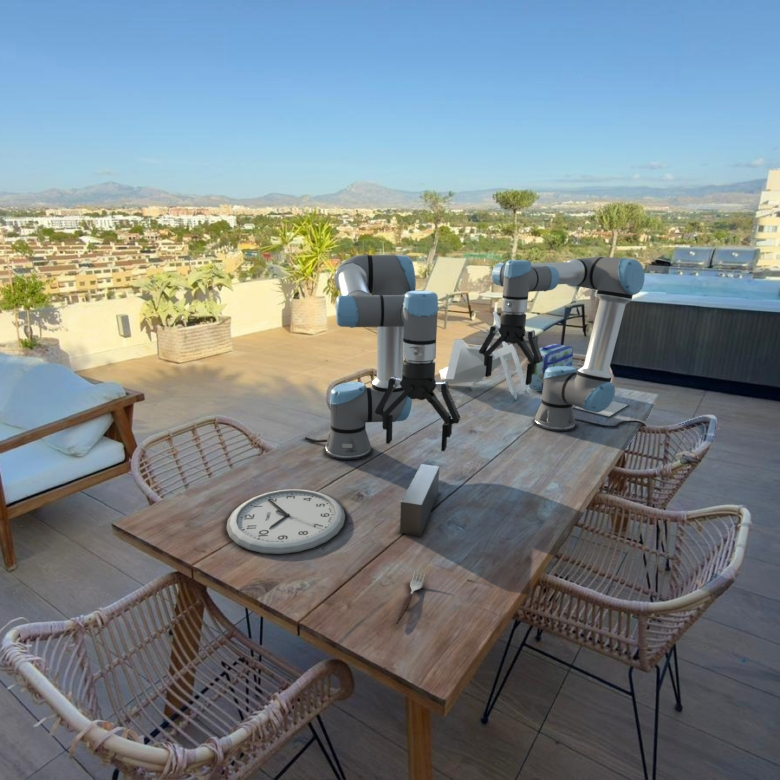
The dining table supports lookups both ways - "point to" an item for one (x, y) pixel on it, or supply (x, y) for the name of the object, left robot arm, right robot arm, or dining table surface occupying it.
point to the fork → (414, 586)
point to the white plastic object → (480, 363)
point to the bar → (419, 500)
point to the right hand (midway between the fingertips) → (507, 380)
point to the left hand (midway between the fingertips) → (416, 445)
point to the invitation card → (609, 409)
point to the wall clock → (285, 521)
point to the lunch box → (551, 362)
